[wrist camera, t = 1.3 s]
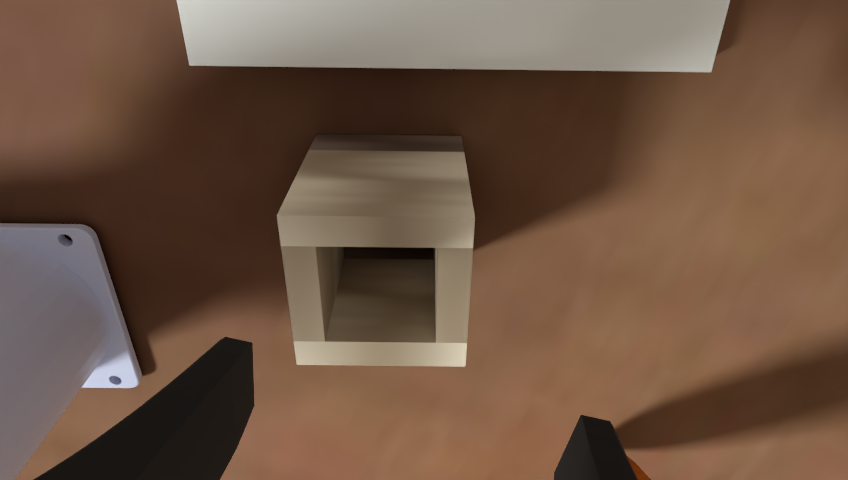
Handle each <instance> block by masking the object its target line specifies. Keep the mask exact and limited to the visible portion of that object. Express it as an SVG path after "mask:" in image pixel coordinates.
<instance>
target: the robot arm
mask: <svg viewBox="0 0 848 480" xmlns="http://www.w3.org/2000/svg"><path fill="white" fill-rule="evenodd" d="M64 234H65V235H68V236H69V237H71V239H72V240H73V241H70V240H68V239H67V238H66V237H65V236H64ZM116 376H117V377H116ZM118 377H119V378H118ZM141 379H142V373H141V370H140V367H139V364H138V361H137V358H136V355H135V351H134V348H133V345H132V342H131V339H130V336H129V333H128V330H127V327H126V324H125V320H124V317H123V314H122V311H121V308H120V305H119V302H118V299H117V296H116V293H115V289H114V286H113V283H112V280H111V277H110V274H109V271H108V268H107V265H106V262H105V259H104V255H103V252H102V249H101V246H100V243H99V240H98V237H97V235H96V233H95V231H94V230H93V229H91V228H90V227H88V226H86V225H82V224H23V223H0V480H15V479H16V478H17V476H18V475H19V473H20V472H21V471H22V469H23V468H24V466H25V465H26V464H27V462H28V461H29V460H30V458H31V457H32V455H33V454H34V453H35V451H36V450H37V448H38V447H39V446H40V444H41V443H42V442H43V440H44V439H45V437H46V436H47V435H48V433H49V432H50V430H51V429H52V428H53V426H54V425H55V423H56V422H57V421H58V419H59V418H60V417H61V415H62V414H63V412H64V411H65V410H66V408H67V407H68V405H69V404H70V403H71V401H72V400H73V399H74V397H75V396H76V394H77V393H78V392H79V390H80V389H81V388H134V387H136V386H138V384H139V383H140V381H141ZM253 407H254V382H253V349H252V343H251V342H246V341H242V340H237V339H232V338H228V337H224V338H223V339H221V340H220V341H219V342H217V343H216V344H215V345H214V346H213V347H212V348H211V349H209V350H208V351H207V352H206V353H205V354H204V355H203V356H201V357H200V358H199V359H198V360H197V361H196V362H194V363H193V364H192V365H191V366H190V367H189V368H187V369H186V370H185V371H184V372H183V373H181V374H180V375H179V376H178V377H177V378H175V379H174V380H173V381H172V382H171V383H169V384H168V385H167V386H166V387H164V388H163V389H162V390H161V391H159V392H158V393H157V394H156V395H154V396H153V397H152V398H151V399H149V400H148V401H147V402H146V403H144V404H143V405H142V406H141V407H139V408H138V409H137V410H135V411H134V412H133V413H131V414H130V415H129V416H127V417H126V418H124V419H123V420H122V421H120V422H119V423H118V424H116V425H115V426H114V427H112V428H111V429H109V430H108V431H107V432H105V433H104V434H103V435H101V436H100V437H98V438H97V439H96V440H94V441H93V442H91V443H90V444H88V445H87V446H85V447H84V448H82V449H81V450H79V451H78V452H76V453H75V454H73V455H72V456H70V457H69V458H67V459H66V460H64V461H63V462H61V463H60V464H58V465H56V466H55V467H53V468H52V469H50V470H49V471H47V472H45V473H44V474H42V475H40V476H39V477H37V478H35V479H34V480H220V478H221V476H222V474H223V473H224V471H225V469H226V467H227V465H228V463H229V462H230V460H231V458H232V456H233V454H234V452H235V450H236V448H237V446H238V444H239V441H240V439H241V437H242V434H243V432H244V429H245V427H246V425H247V422H248V420H249V417H250V415H251V412H252V410H253ZM554 480H638V479H637V477H636V475H635V473H634V470H633V468H632V466H631V464H630V462H629V460H628V458H627V456H626V454H625V451H624V449H623V447H622V445H621V443H620V440H619V438H618V436H617V434H616V432H615V429H614V427H613V425H612V424H611V422H610V421H606V420H602V419H597V418H593V417H588V416H584V415H581V416H580V418H579V420H578V423H577V425H576V427H575V429H574V431H573V433H572V436H571V438H570V440H569V442H568V444H567V446H566V449H565V451H564V453H563V455H562V457H561V459H560V461H559V464H558V466H557V468H556V470H555V472H554Z"/></svg>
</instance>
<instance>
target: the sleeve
mask: <svg viewBox="0 0 848 480" xmlns="http://www.w3.org/2000/svg"><path fill="white" fill-rule="evenodd" d="M277 222H278V229H279V236H280V244H281V251H282V259H283V266H284V273H285V281H286V288H287V296H288V303H289V310H290V318H291V325H292V333H293V340H294V347H295V355H296V362H297V365H369V366H465V364H466V349H467V333H468V318H469V303H470V288H471V272H472V257H473V242H474V227H475V214H474V208H473V202H472V196H471V190H470V184H469V178H468V172H467V166H466V160H465V153H464V147H463V141H462V136H428V135H345V134H316V136H315V138H314V140H313V142H312V144H311V146H310V148H309V150H308V152H307V154H306V156H305V158H304V160H303V162H302V165H301V167H300V169H299V171H298V173H297V175H296V177H295V179H294V181H293V183H292V185H291V187H290V189H289V191H288V193H287V195H286V197H285V199H284V201H283V204H282V206H281V208H280V210H279V212H278V214H277Z"/></svg>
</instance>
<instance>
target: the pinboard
mask: <svg viewBox="0 0 848 480" xmlns="http://www.w3.org/2000/svg"><path fill="white" fill-rule="evenodd" d="M729 3H730V0H177V4H178V10H179V15H180V20H181V25H182V30H183V35H184V40H185V46H186V51H187V56H188V61H189V66H257V67H336V68H415V69H494V70H573V71H652V72H711V71H712V67H713V63H714V60H715V56H716V52H717V48H718V45H719V41H720V37H721V33H722V30H723V26H724V22H725V18H726V14H727V11H728V7H729Z"/></svg>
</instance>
